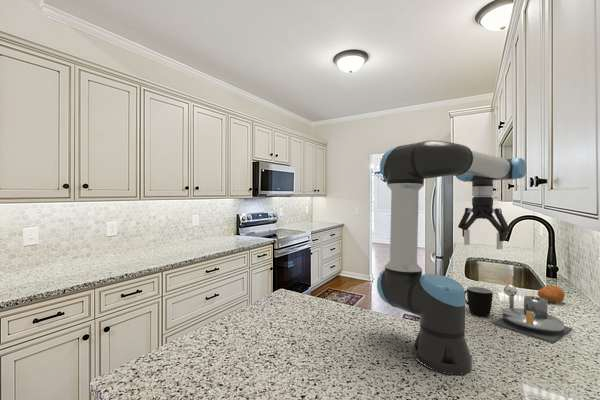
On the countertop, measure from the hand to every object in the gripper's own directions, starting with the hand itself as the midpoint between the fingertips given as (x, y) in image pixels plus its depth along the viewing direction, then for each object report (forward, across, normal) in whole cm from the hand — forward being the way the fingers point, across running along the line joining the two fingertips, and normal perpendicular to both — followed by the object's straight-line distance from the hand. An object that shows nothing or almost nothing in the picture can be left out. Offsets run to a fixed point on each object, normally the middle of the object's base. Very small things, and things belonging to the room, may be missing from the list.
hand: (482, 246), depth 121 cm
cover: (+24, -16, -6) cm, 30 cm away
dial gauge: (+28, -6, -11) cm, 30 cm away
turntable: (+25, -17, -2) cm, 30 cm away
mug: (+28, +1, +3) cm, 28 cm away
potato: (+28, -6, -44) cm, 53 cm away
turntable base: (+28, -17, -2) cm, 32 cm away
